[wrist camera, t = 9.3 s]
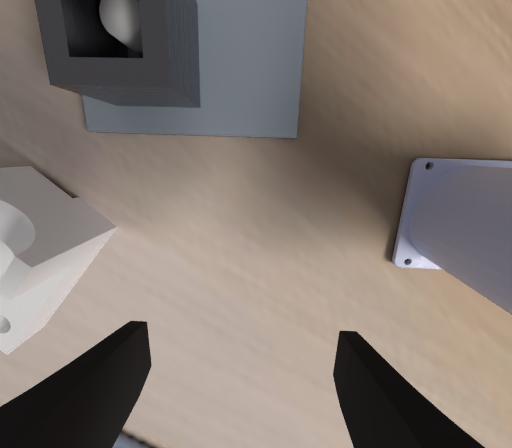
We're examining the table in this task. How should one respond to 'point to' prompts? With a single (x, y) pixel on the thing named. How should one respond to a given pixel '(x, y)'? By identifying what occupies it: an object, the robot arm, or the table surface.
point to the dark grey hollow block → (123, 53)
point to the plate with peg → (220, 72)
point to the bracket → (41, 250)
